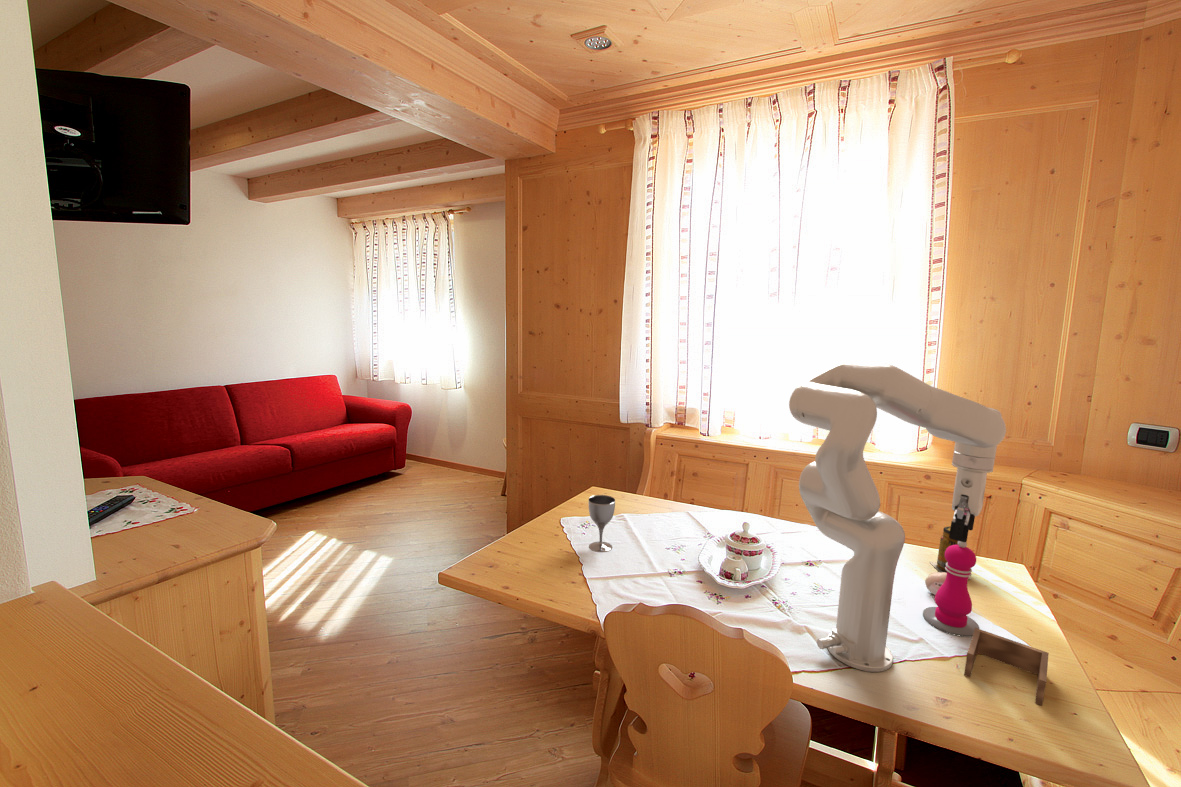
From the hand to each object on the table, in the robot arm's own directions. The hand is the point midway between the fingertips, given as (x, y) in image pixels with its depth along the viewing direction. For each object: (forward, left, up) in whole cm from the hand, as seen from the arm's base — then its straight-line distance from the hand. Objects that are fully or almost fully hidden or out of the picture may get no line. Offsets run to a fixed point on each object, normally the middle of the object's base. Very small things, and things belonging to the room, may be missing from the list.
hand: (961, 534), depth 120 cm
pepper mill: (+1, 0, -22) cm, 22 cm away
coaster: (+1, 0, -22) cm, 22 cm away
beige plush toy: (+10, +10, -22) cm, 26 cm away
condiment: (+25, +19, -22) cm, 38 cm away
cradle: (-6, -17, -22) cm, 29 cm away
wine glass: (-66, +59, -22) cm, 92 cm away
